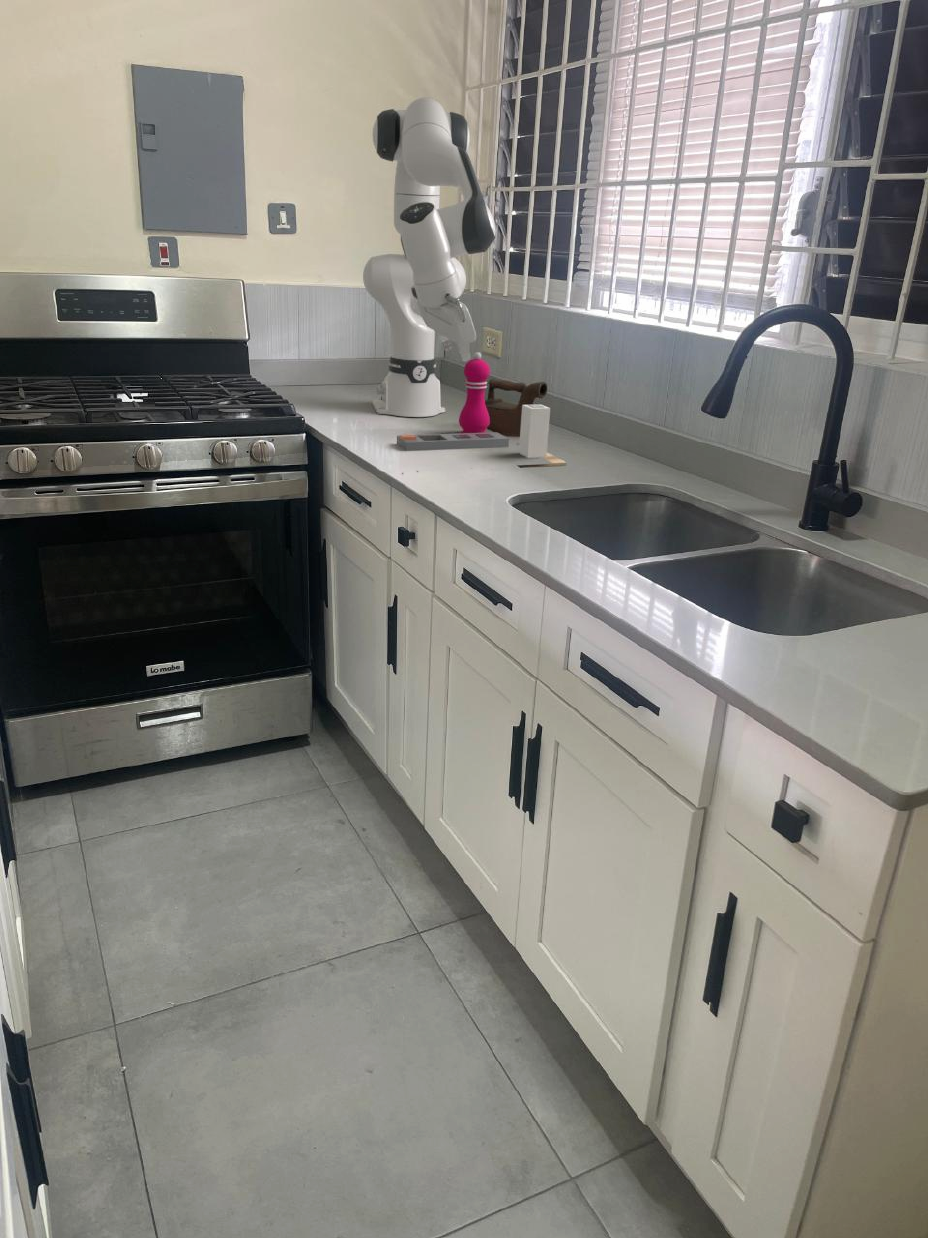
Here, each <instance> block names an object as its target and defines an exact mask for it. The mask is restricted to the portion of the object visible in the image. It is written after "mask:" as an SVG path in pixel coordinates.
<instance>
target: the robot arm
mask: <svg viewBox="0 0 928 1238" xmlns="http://www.w3.org/2000/svg"><path fill="white" fill-rule="evenodd" d="M372 142H373V145H374V149H375V150H376V154H377V155H378V157H379V159H383V160H385V161H388V162H392V163H393V162H394V161H395V162H397V163H396V167H395V177H394V191H393V192H394V193H393V196H394V197H393V226H394V228H395V230H396V232H397V233H398V234H399V235H400V242H401V247H402V250H403V253H404V254H396V253H395V254H394V253H388V254H381V255H376V256H375V255H374V256H372V257H370V258H369V259H368V260H367V262H366V264H365V266H364V267H363V272H362V282H363V284H364V287H365V290H366V292H367V293H368V294H369V295H370V297H372V298H373V299H374V300H375V301H376V302H377V303H378V304H379V305H380V306H381V308H382V310H383V311H384V313H385V315H386V317H387V319H388V323H389V326H390V338H391V356H390V357H389V362H388V373H387V375H386V376H385V377H384V379H383V381H382V382H381V385H376V394H377V395H380V399H374V400H373V399H372V406H373V407H374V410H375V411H376V413H377V414H380V415H391V416H398V417H406V418H407V417H409V418H411V417H412V418H423V417H424V418H425V417H433V416H437V415H439V414H443V413H445V412H446V407H443V406H441V382H440V380H439V378H437V377H436V375H435V373H436V368H437V361H436V358H435V343H436V342H435V341H436V340H435V338H436V337H435V336H437V338H438V340H439V342H440V344H441V347H442V350H444V351H446V352H449V351H450V350H451V351H452V349H453V345H452V342H454V343H456V345H457V347H458V348H459V352H458V356H459V359H460V360H461V361H462V362H464V363H465V362H466V363H467V362H468V361H470V360H471V353H470V344H471V343H473V342H475V341H477V333H476V332H477V331H476V329H475V326H474V322H473V319H472V317H471V314H470V311H469V309H468V307H467V306H466V304H465V303H463V302H461V301H460V299H459V298H460V297H461V296H462V294H463V293H464V290H465V289H466V286H467V285H466V284H467V276H466V271H465V268H464V267H463V265H462V263H461V262H460V261H459V260H458V259H457V257H458V258H459V257H461V256H466V255H474V254H480V253H486V252H487V251H488V249H489V248H490V247H491V245H492V244H493V242H494V241H495V239H496V223H495V220H494V216H493V214H492V212H491V210H490V208H489V207H488V205H487V203H486V201H485V198H484V195H483V191H482V189H481V186H480V183H479V180H478V177H477V174H476V171H475V169H474V166H473V164H472V161H471V159H470V157H469V155H468V150H469V146H470V143H471V133H470V129H469V125H468V121H467V119H466V117H465V116H464V115H462V114H459V113H456V112H453V111H449V112H446V111H445V109H444V107H443V105H442V104H440V102H438V101H437V100H435V99H433V98H430V97H419V98H416V99H415V100H413V101H411V103H409V105H408V106H407V108H406V109H399V110H398V109H397V110H395V109H394V108H391V109H384V110H382V111H381V112H380V113H379V114H378V115H376V120H375V121H374V124H373V127H372ZM441 187H454V188H458V189H460V191H461V194H462V198H463V200H462V201H460V202H459V203H456V204H453V205H449V206H444V207H442V208H440V198H441V197H440V195H441ZM414 302H416V304H417V307H418V310H419V312H420V314H417V313H416V312H415V311H414V310H413V309H412V307H411V306H412V303H414Z"/></svg>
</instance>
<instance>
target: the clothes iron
mask: <svg viewBox="0 0 928 1238" xmlns="http://www.w3.org/2000/svg"><path fill="white" fill-rule="evenodd" d="M488 385H489V386H488V392H487V399H484V401H485V405H486V408H487V411H488V414H489V418H490V424H489V426H488V427H487V428H486V430H489V432H497V433H499V434H501V435H503V436H510V437H520V430H521V415H522V405H534V402H535V399H537V398H539V399H544V398H545V396H546V395H547V393H548V384H547V382H546V381H541V382H533V383H530V384H529V385H527V384H525V382H513V381H510V380H497V379H495V378H491V379H489V380H488ZM495 389H498V390H503V391H505V392H506V391H507V392H511V391H515V392H518V393H519V394H520V398H519V401H518V403H517V404H513V403H509V402H504V401H503V399H502V398H498V397H497V398H496V397H495Z"/></svg>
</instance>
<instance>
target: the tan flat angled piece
mask: <svg viewBox="0 0 928 1238" xmlns="http://www.w3.org/2000/svg"><path fill="white" fill-rule="evenodd" d="M545 460H546V461H548V462H549V463H540V464H538V463H537V464H521V465H520V464H519V465H517V464H516V466H517V467H518V468H537V467H539V468H540V467H542V468H543V467H557V466H558V467H560V466H567V465H568V463H567V461H564V460H563V459H561V458H559V457H557V456H555V455H553V454H551V453H549V452H547V457H546V459H545Z"/></svg>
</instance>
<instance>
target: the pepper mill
mask: <svg viewBox="0 0 928 1238" xmlns="http://www.w3.org/2000/svg"><path fill="white" fill-rule="evenodd" d="M490 374H491V369H490V365H489V364H488V363H487V361H485V360H483V359H482V353H481V352H479V351H477V352H476V351H475V352H474V354H473V359H470V360H468V361H466V364H465V365H464V367H463V375H464V377H465V378H466V380H465V388H466V400H465V403H464V406H463V408H462V409H461V412H460V414H459V418H458V424H459V426H460V427H461V428H462V430H461V431H460V433H487V431H486V430H487V427H488V426H489V424H490V418H489V414H488V411H487V408H486V405H485V393H486V392H485V391H486V389H487V387H488V386H487V384H488V381H487V379H488V378H489V377H490ZM460 433H459V434H460Z"/></svg>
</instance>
